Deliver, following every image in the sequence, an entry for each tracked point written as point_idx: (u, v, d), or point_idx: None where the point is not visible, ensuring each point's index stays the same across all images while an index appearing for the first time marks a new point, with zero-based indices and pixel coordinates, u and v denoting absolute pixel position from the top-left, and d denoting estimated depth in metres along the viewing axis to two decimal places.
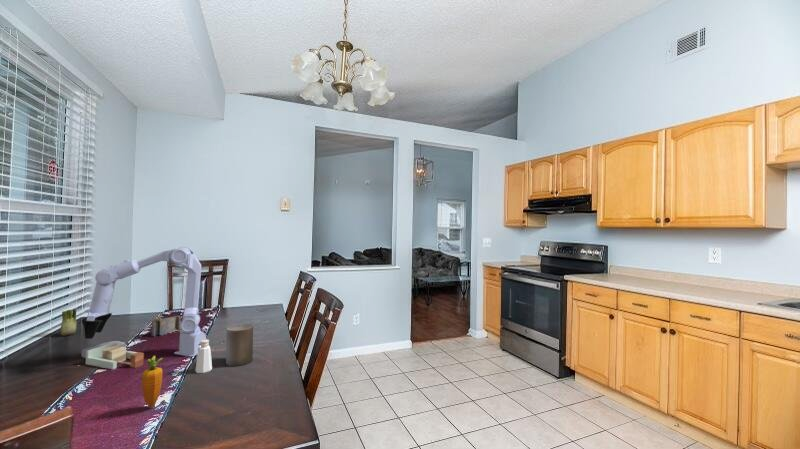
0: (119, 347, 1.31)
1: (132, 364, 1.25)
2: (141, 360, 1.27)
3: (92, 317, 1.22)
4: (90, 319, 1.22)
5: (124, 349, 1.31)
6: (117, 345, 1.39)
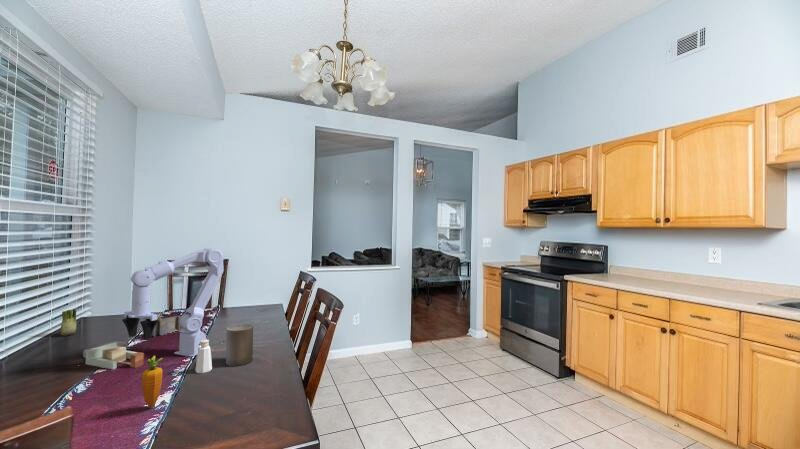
0: (119, 347, 1.31)
1: (132, 364, 1.25)
2: (141, 360, 1.27)
3: (156, 316, 1.27)
4: (155, 318, 1.27)
5: (124, 349, 1.31)
6: (119, 345, 1.39)
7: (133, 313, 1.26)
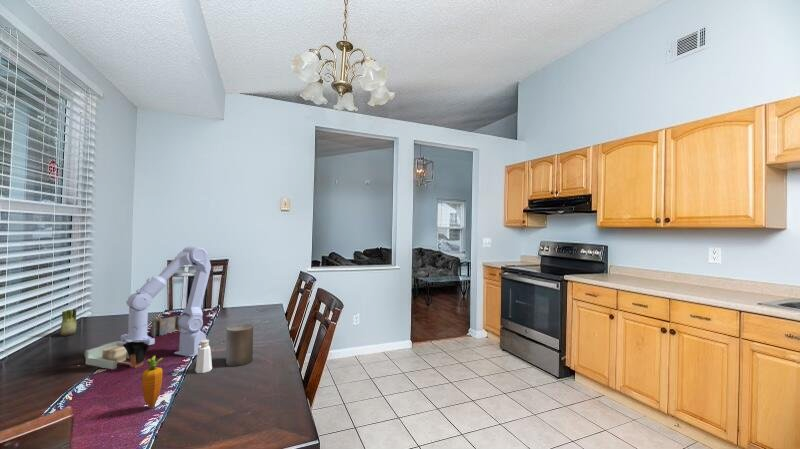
0: (119, 347, 1.31)
1: (132, 364, 1.25)
2: None
3: (153, 340, 1.25)
4: (152, 342, 1.25)
5: (124, 349, 1.31)
6: (120, 345, 1.39)
7: (130, 337, 1.24)
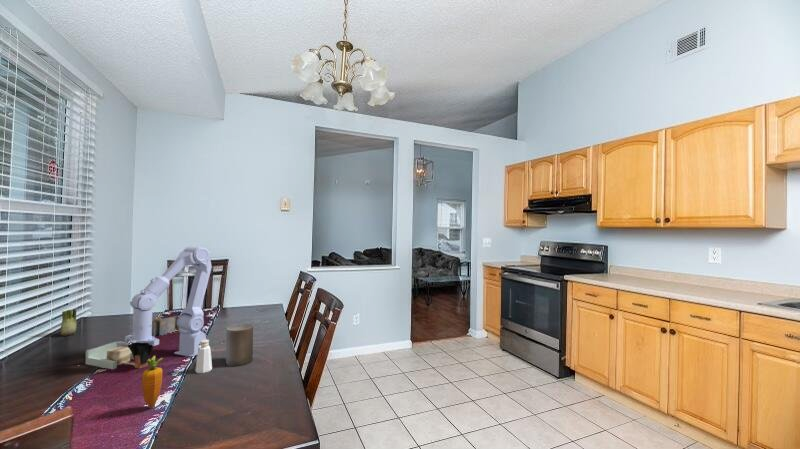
0: (123, 348, 1.31)
1: (136, 365, 1.24)
2: None
3: (158, 341, 1.24)
4: (156, 343, 1.24)
5: (128, 350, 1.30)
6: (120, 345, 1.39)
7: (134, 338, 1.23)
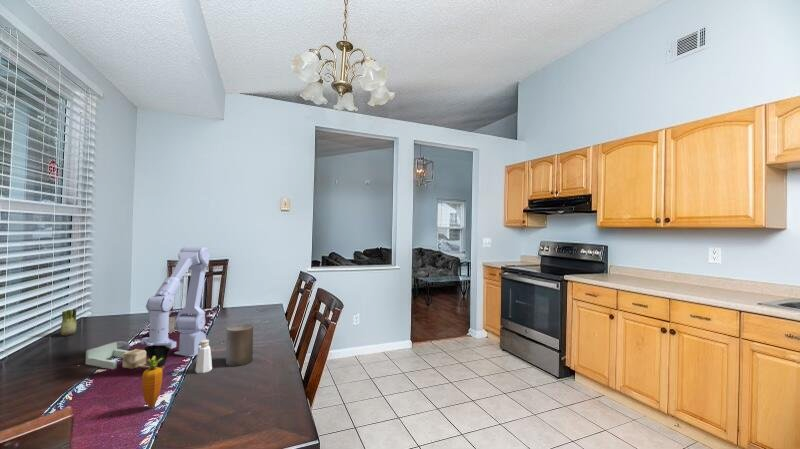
0: (139, 350, 1.28)
1: None
2: None
3: (175, 343, 1.22)
4: (174, 346, 1.22)
5: (144, 352, 1.28)
6: (121, 345, 1.39)
7: (151, 341, 1.21)
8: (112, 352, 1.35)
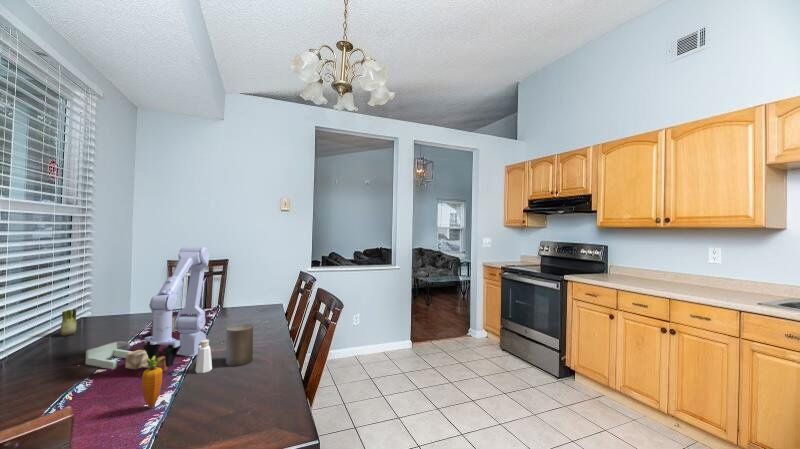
0: (142, 351, 1.28)
1: None
2: None
3: (178, 342, 1.22)
4: (177, 345, 1.21)
5: None
6: (121, 345, 1.39)
7: (155, 340, 1.21)
8: (112, 352, 1.35)
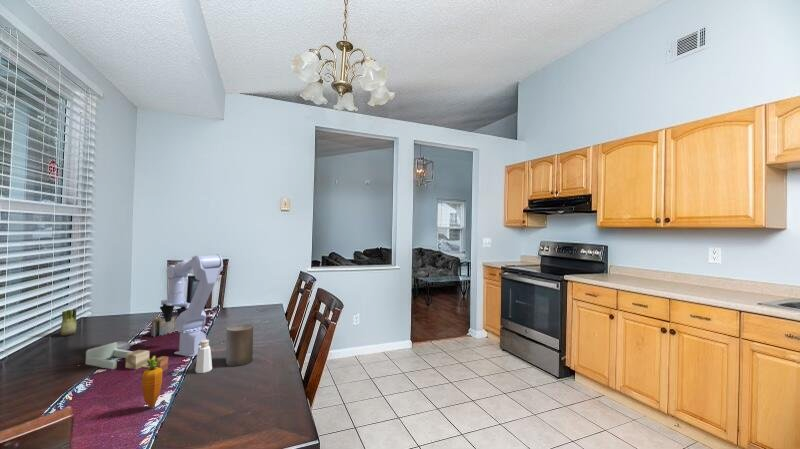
0: (142, 351, 1.28)
1: None
2: (166, 364, 1.24)
3: (190, 304, 1.47)
4: (189, 306, 1.46)
5: (148, 353, 1.28)
6: (121, 345, 1.39)
7: (170, 302, 1.46)
8: (112, 352, 1.35)
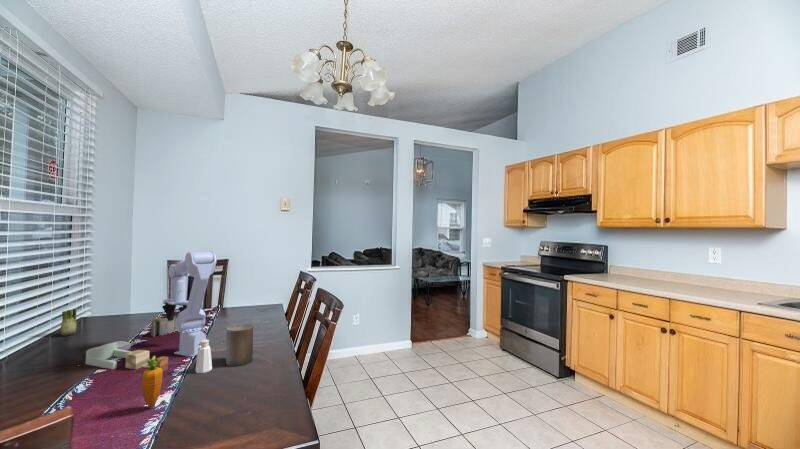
0: (142, 351, 1.28)
1: None
2: (166, 364, 1.24)
3: None
4: None
5: (148, 353, 1.28)
6: (122, 345, 1.39)
7: (172, 300, 1.48)
8: (112, 352, 1.35)
